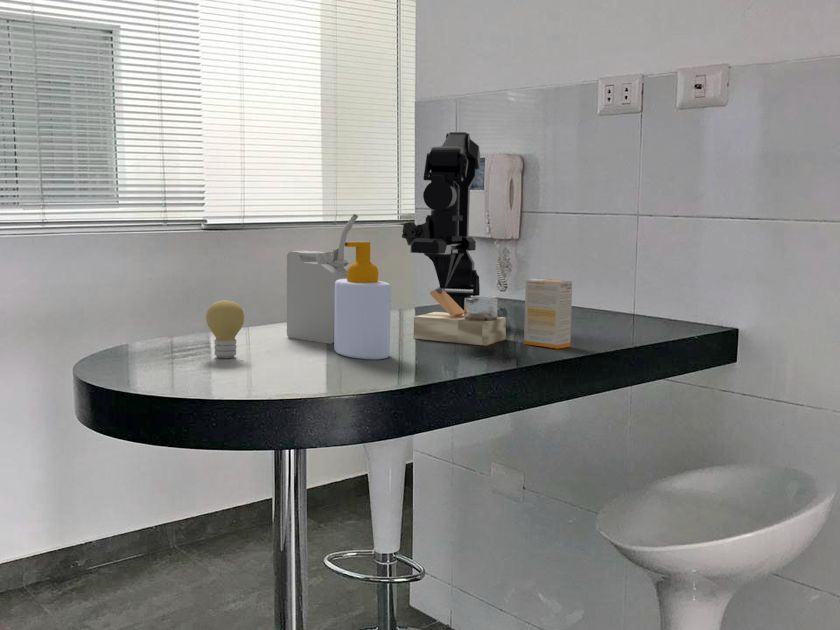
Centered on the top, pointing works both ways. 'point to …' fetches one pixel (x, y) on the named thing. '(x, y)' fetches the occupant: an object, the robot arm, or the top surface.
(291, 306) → the fuel canister
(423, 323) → the block
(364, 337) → the soap bottle
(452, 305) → the orange knobbed panel
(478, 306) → the silver metal cylinder
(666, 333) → the top surface
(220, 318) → the light bulb
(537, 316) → the supplement box
